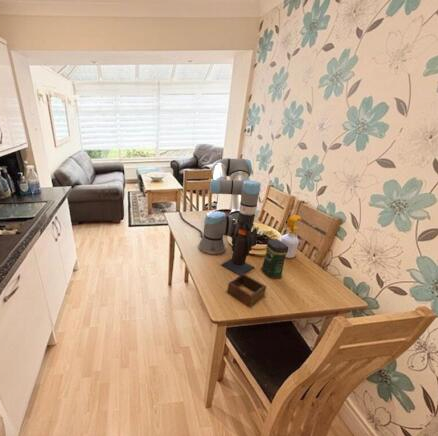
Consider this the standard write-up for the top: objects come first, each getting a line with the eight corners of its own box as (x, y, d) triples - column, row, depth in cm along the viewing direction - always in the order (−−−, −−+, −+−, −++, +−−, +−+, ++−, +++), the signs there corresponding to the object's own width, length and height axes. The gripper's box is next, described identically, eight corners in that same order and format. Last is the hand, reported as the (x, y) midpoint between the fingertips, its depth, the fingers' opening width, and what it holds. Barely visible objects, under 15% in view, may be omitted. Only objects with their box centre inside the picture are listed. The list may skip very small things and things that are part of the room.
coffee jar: (284, 278, 120) (292, 246, 113) (269, 279, 120) (277, 247, 112) (272, 266, 129) (279, 236, 122) (258, 268, 128) (265, 237, 121)
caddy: (227, 292, 111) (228, 282, 109) (241, 282, 117) (243, 273, 115) (249, 307, 103) (251, 297, 100) (264, 295, 109) (266, 286, 107)
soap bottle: (298, 256, 139) (309, 217, 129) (287, 259, 136) (297, 220, 126) (285, 248, 146) (294, 212, 136) (274, 251, 143) (283, 214, 133)
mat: (221, 265, 131) (221, 264, 131) (234, 258, 137) (234, 257, 137) (240, 276, 122) (240, 275, 122) (253, 267, 129) (253, 266, 128)
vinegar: (245, 260, 130) (252, 228, 122) (243, 267, 124) (250, 233, 116) (233, 257, 133) (238, 225, 125) (230, 263, 127) (235, 230, 119)
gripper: (225, 208, 122) (220, 247, 131) (261, 221, 108) (253, 263, 117) (234, 205, 126) (228, 243, 135) (270, 217, 112) (261, 258, 121)
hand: (239, 252), depth 126 cm, fingers closed on vinegar, 7 cm apart
